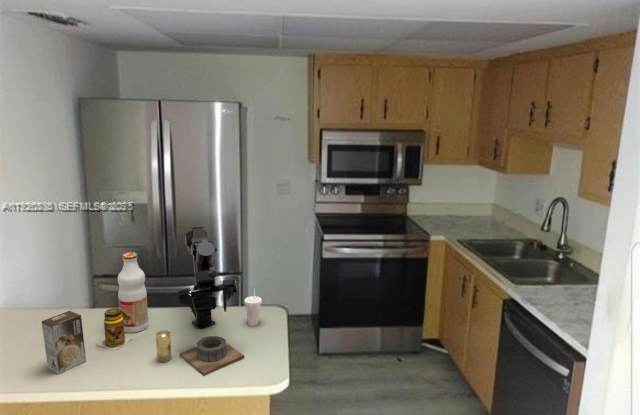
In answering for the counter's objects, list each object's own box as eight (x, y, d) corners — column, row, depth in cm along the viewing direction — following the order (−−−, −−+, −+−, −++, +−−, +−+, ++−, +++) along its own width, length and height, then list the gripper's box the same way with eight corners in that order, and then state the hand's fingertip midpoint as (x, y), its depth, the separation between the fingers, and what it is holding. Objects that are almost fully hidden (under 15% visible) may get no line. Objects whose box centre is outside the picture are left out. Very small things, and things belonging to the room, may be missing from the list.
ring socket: (179, 355, 156) (178, 342, 155) (219, 340, 166) (218, 327, 165) (203, 375, 145) (203, 361, 144) (244, 358, 156) (244, 344, 154)
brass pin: (154, 358, 154) (153, 333, 152) (167, 354, 157) (166, 329, 155) (161, 364, 151) (159, 338, 149) (174, 359, 154) (172, 334, 152)
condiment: (116, 350, 158) (113, 317, 155) (95, 345, 161) (92, 313, 158) (131, 339, 165) (128, 308, 162) (111, 335, 168) (108, 304, 165)
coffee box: (75, 355, 155) (70, 309, 151) (86, 361, 151) (82, 314, 148) (46, 368, 147) (41, 320, 143) (58, 375, 144) (52, 326, 140)
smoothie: (258, 328, 175) (258, 293, 172) (242, 326, 177) (241, 291, 173) (264, 320, 182) (264, 286, 178) (248, 318, 183) (247, 284, 179)
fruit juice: (148, 331, 171) (144, 257, 165) (120, 335, 168) (114, 259, 161) (148, 319, 180) (143, 249, 173) (121, 323, 177) (115, 251, 170)
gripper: (171, 266, 152) (174, 310, 143) (229, 254, 155) (236, 296, 146) (179, 283, 161) (183, 325, 152) (234, 271, 164) (241, 312, 155)
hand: (210, 314), depth 151 cm, fingers open, 9 cm apart
